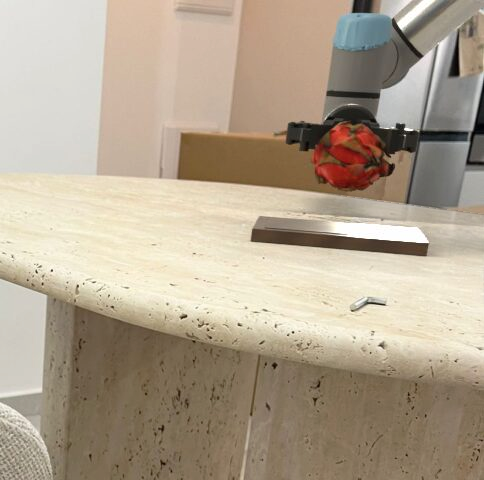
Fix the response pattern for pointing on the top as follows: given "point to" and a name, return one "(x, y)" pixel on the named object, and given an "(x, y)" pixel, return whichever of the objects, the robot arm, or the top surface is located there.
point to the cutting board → (340, 235)
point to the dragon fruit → (350, 158)
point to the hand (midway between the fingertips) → (353, 139)
